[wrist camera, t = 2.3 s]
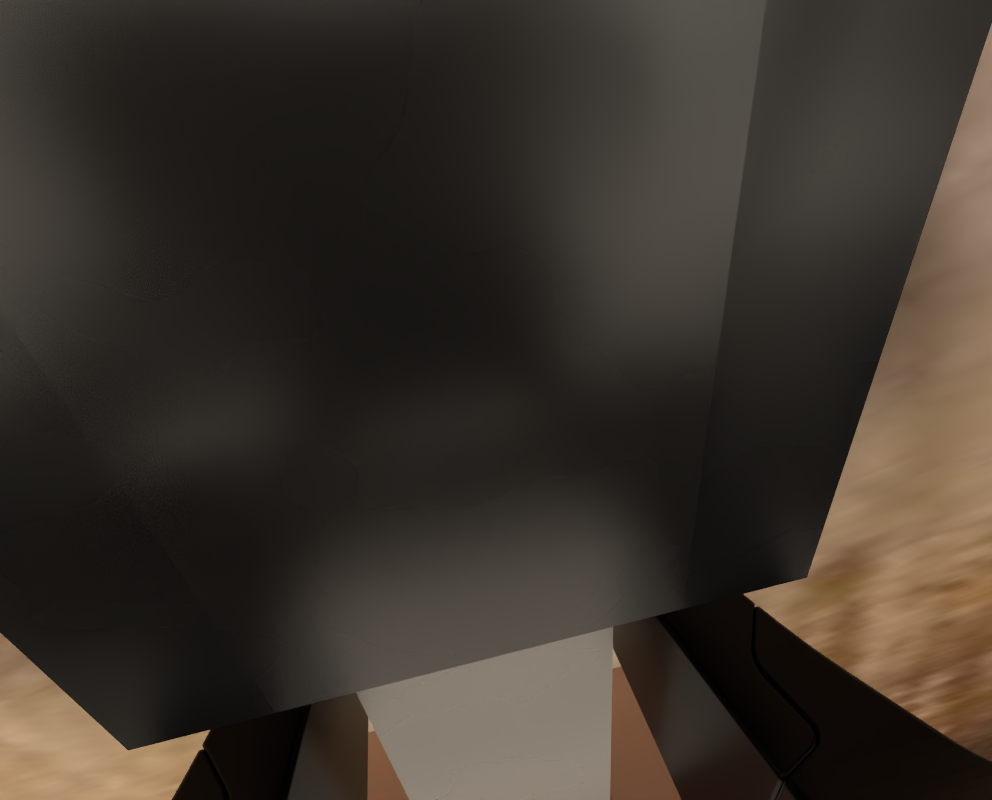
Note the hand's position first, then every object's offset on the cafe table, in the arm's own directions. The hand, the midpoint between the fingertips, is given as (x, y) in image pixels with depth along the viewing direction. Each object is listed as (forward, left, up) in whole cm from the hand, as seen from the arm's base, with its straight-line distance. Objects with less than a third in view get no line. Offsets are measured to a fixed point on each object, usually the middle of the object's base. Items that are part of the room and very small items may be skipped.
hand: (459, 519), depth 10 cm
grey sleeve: (0, -7, -1) cm, 7 cm away
